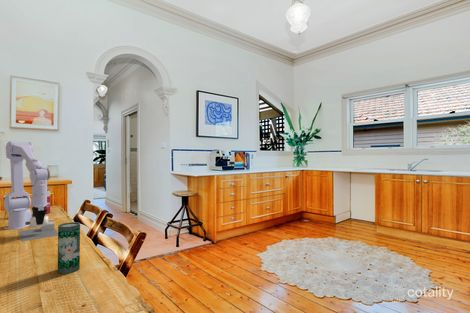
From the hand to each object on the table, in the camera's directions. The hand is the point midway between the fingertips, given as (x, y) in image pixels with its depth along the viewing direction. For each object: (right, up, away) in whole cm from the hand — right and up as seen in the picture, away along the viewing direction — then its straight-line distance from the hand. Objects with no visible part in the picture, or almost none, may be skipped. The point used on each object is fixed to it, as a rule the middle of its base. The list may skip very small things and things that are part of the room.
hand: (39, 223), depth 125 cm
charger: (-2, -5, +9) cm, 10 cm away
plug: (0, -1, 0) cm, 1 cm away
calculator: (-29, -5, +42) cm, 52 cm away
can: (+36, -7, -37) cm, 52 cm away
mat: (-2, -6, +2) cm, 6 cm away
